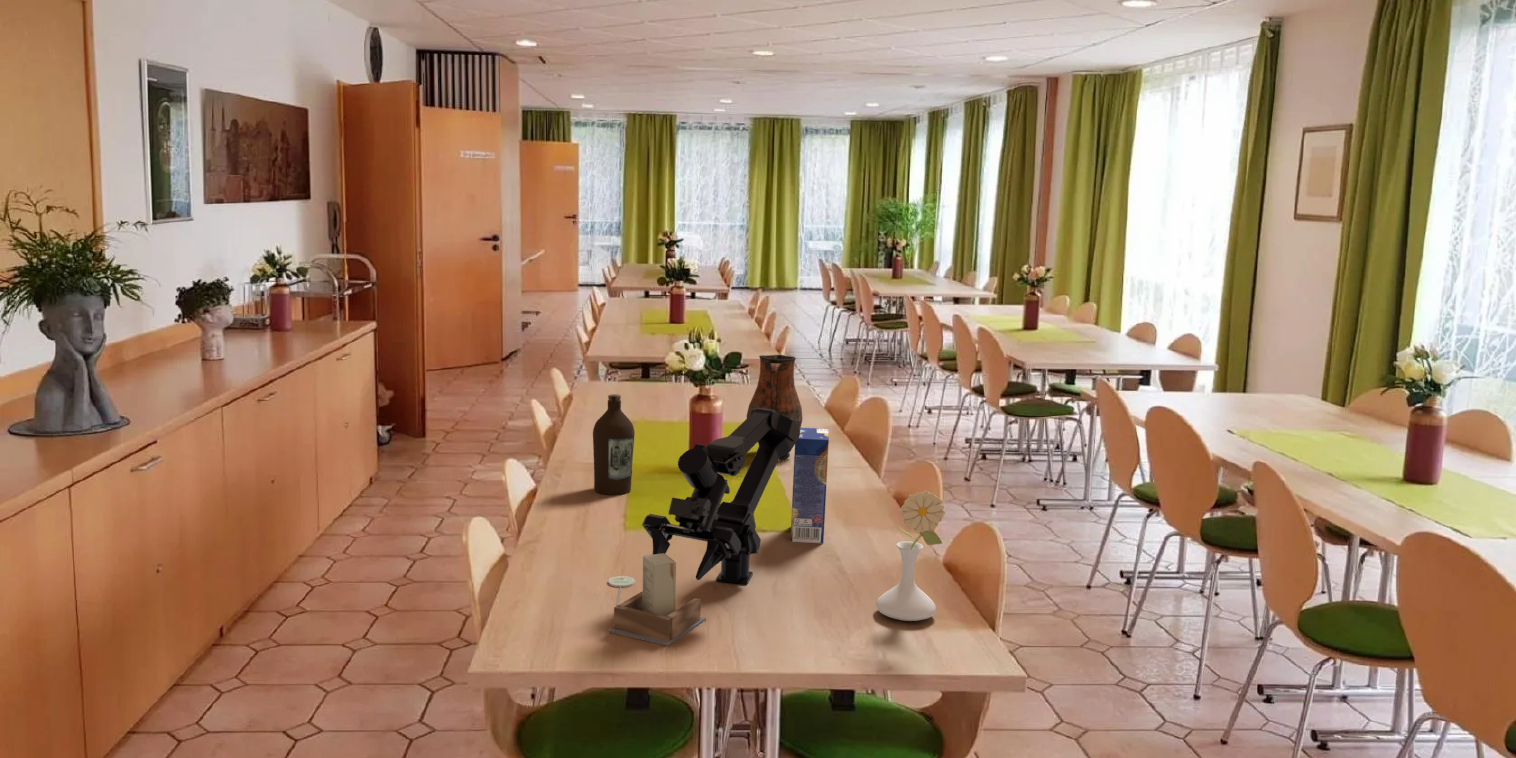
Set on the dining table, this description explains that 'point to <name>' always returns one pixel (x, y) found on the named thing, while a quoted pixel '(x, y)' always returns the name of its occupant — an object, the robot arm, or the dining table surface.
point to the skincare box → (659, 584)
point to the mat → (654, 638)
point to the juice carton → (809, 486)
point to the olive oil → (613, 450)
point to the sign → (621, 583)
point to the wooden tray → (655, 619)
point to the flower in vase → (913, 560)
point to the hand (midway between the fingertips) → (675, 574)
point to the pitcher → (777, 388)
